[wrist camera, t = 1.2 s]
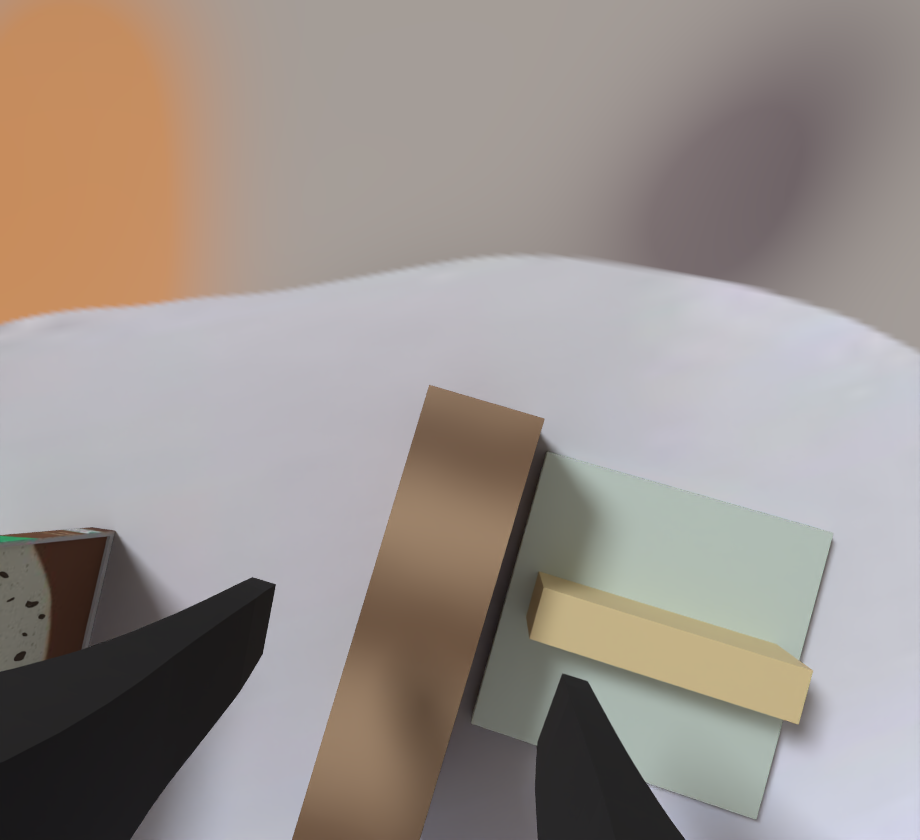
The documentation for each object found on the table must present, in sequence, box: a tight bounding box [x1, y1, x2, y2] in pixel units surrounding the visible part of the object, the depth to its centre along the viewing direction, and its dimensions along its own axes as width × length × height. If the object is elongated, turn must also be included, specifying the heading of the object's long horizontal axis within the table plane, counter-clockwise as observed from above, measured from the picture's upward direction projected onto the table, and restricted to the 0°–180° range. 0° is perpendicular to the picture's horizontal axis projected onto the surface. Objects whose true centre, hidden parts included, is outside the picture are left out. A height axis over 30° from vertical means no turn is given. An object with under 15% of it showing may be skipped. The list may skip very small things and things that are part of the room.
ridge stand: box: [471, 451, 833, 820], centre depth 20 cm, size 12×12×3 cm
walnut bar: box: [292, 385, 544, 840], centre depth 20 cm, size 16×4×6 cm, turn 163°
